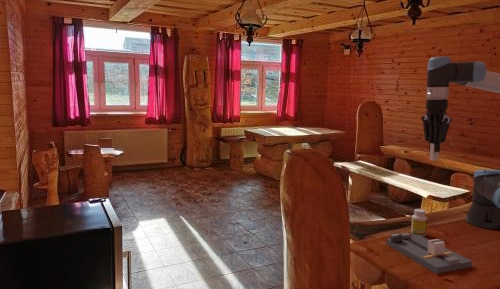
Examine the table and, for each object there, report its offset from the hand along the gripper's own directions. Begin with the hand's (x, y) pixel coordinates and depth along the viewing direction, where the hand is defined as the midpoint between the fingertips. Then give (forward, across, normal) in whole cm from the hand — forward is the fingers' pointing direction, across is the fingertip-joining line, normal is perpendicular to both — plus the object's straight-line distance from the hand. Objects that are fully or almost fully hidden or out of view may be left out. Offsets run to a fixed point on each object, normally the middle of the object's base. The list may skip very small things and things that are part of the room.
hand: (433, 160), depth 146 cm
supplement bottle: (+29, 0, -6) cm, 30 cm away
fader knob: (+27, +20, -17) cm, 38 cm away
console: (+29, +16, -17) cm, 38 cm away
